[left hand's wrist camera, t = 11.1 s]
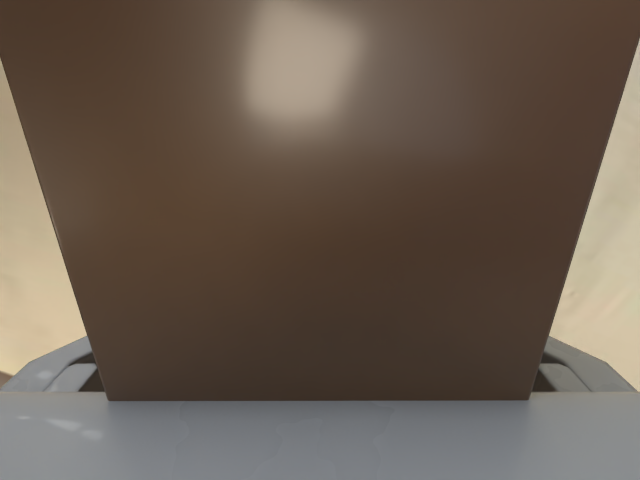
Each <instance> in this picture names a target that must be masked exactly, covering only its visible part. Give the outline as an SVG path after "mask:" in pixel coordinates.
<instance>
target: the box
mask: <svg viewBox="0 0 640 480" xmlns="http://www.w3.org/2000/svg"><path fill="white" fill-rule="evenodd" d="M639 38H640V0H0V58H1V61H2V64H3V67H4V71H5V74H6V77H7V80H8V83H9V87H10V90H11V93H12V96H13V99H14V103H15V106H16V109H17V112H18V115H19V119H20V122H21V125H22V128H23V131H24V135H25V138H26V141H27V144H28V147H29V151H30V154H31V157H32V160H33V163H34V167H35V170H36V173H37V176H38V179H39V183H40V186H41V189H42V192H43V195H44V199H45V202H46V205H47V208H48V211H49V215H50V218H51V221H52V224H53V227H54V231H55V234H56V237H57V240H58V243H59V247H60V250H61V253H62V256H63V259H64V263H65V266H66V269H67V272H68V275H69V278H70V282H71V285H72V288H73V291H74V294H75V298H76V301H77V304H78V307H79V310H80V314H81V317H82V320H83V323H84V326H85V330H86V333H87V336H88V339H89V342H90V346H91V349H92V352H93V355H94V358H95V362H96V365H97V368H98V371H99V374H100V378H101V381H102V384H103V387H104V390H105V394H106V397H107V400H108V401H515V400H529V398H530V395H531V392H532V388H533V385H534V382H535V378H536V375H537V372H538V369H539V365H540V362H541V359H542V356H543V352H544V349H545V346H546V342H547V339H548V336H549V333H550V329H551V326H552V323H553V320H554V316H555V313H556V310H557V307H558V303H559V300H560V297H561V293H562V290H563V287H564V284H565V280H566V277H567V274H568V271H569V267H570V264H571V261H572V257H573V254H574V251H575V248H576V244H577V241H578V238H579V235H580V231H581V228H582V225H583V222H584V218H585V215H586V212H587V208H588V205H589V202H590V199H591V195H592V192H593V189H594V186H595V182H596V179H597V176H598V172H599V169H600V166H601V163H602V159H603V156H604V153H605V150H606V146H607V143H608V140H609V137H610V133H611V130H612V127H613V123H614V120H615V117H616V114H617V110H618V107H619V104H620V101H621V97H622V94H623V91H624V88H625V84H626V81H627V78H628V74H629V71H630V68H631V65H632V61H633V58H634V55H635V52H636V48H637V45H638V42H639Z"/></svg>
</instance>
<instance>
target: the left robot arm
mask: <svg viewBox="0 0 640 480" xmlns="http://www.w3.org/2000/svg"><path fill="white" fill-rule="evenodd" d="M0 480H640V392H638V391H637V390H636V389H635V388H634V387H632V386H631V385H630V384H629V383H628V382H627V381H626V380H625V379H624V378H623V377H622V376H621V375H619V374H618V373H617V372H616V371H615V370H614V369H613V368H612V367H611V366H610V365H609V364H608V363H606V362H604V361H602V360H600V359H598V358H596V357H593V356H591V355H589V354H587V353H585V352H583V351H580V350H578V349H576V348H574V347H572V346H570V345H567V344H565V343H563V342H561V341H559V340H557V339H555V338H552V337H550V336H548V339H547V342H546V346H545V349H544V352H543V356H542V359H541V362H540V365H539V369H538V372H537V375H536V378H535V382H534V385H533V388H532V392H531V395H530V398H529V400H515V401H108V400H107V397H106V394H105V390H104V387H103V384H102V381H101V378H100V374H99V371H98V368H97V365H96V362H95V358H94V355H93V352H92V349H91V346H90V342H89V339H88V336H85V337H83V338H81V339H79V340H77V341H74V342H72V343H70V344H68V345H66V346H63V347H61V348H59V349H57V350H55V351H52V352H50V353H48V354H46V355H44V356H42V357H39V358H37V359H35V360H33V361H31V362H29V363H28V364H27V365H26V366H24V367H23V368H22V369H21V370H20V371H19V372H18V373H17V374H16V375H14V376H13V377H12V378H11V379H10V380H9V381H8V382H7V383H6V384H4V385H3V386H2V387H1V388H0Z"/></svg>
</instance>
